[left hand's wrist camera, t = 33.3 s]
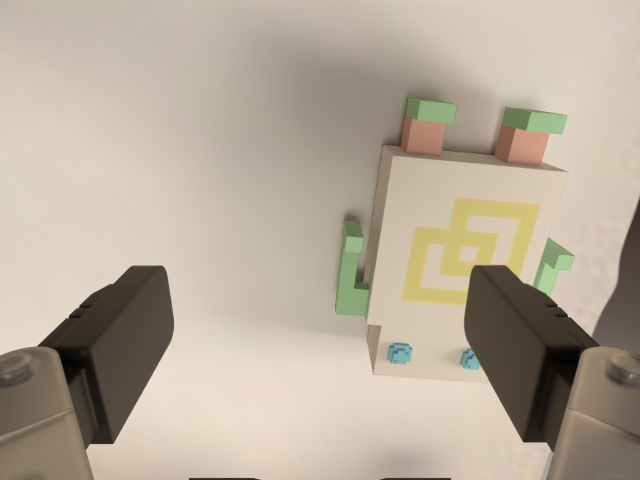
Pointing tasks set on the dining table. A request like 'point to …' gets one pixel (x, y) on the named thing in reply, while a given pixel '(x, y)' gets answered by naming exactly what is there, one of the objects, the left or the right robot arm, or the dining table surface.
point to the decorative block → (449, 237)
